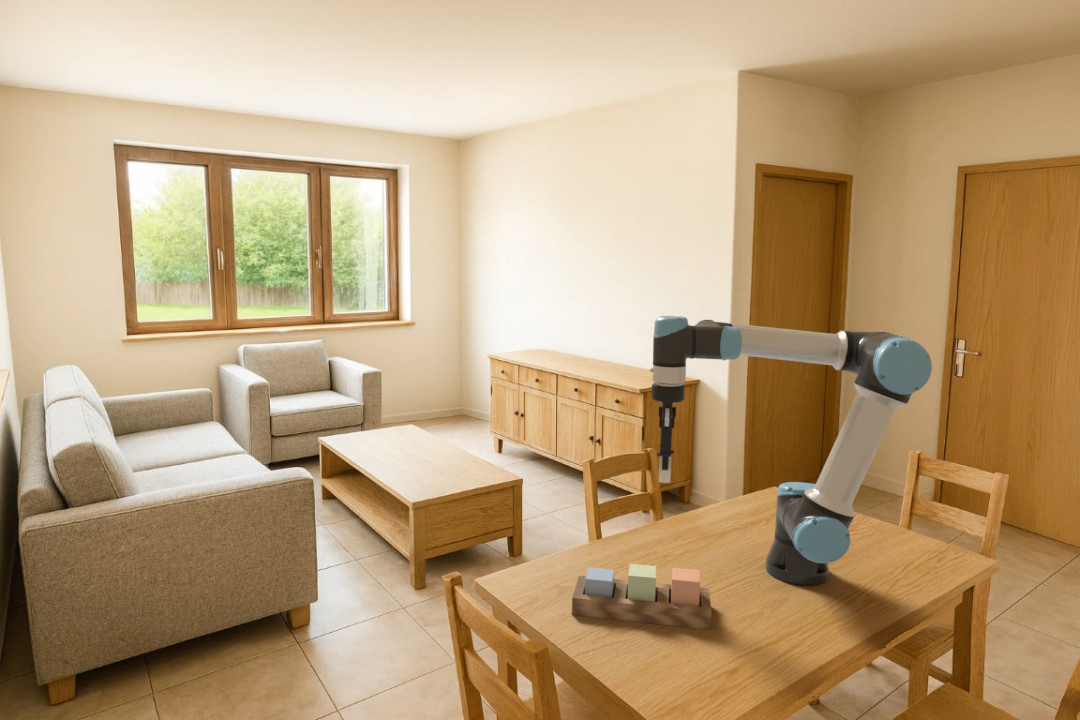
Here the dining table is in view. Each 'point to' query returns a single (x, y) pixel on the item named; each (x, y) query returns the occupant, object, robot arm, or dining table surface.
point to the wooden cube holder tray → (642, 606)
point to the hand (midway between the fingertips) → (664, 481)
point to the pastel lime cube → (642, 582)
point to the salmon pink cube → (685, 587)
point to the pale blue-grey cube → (599, 582)
